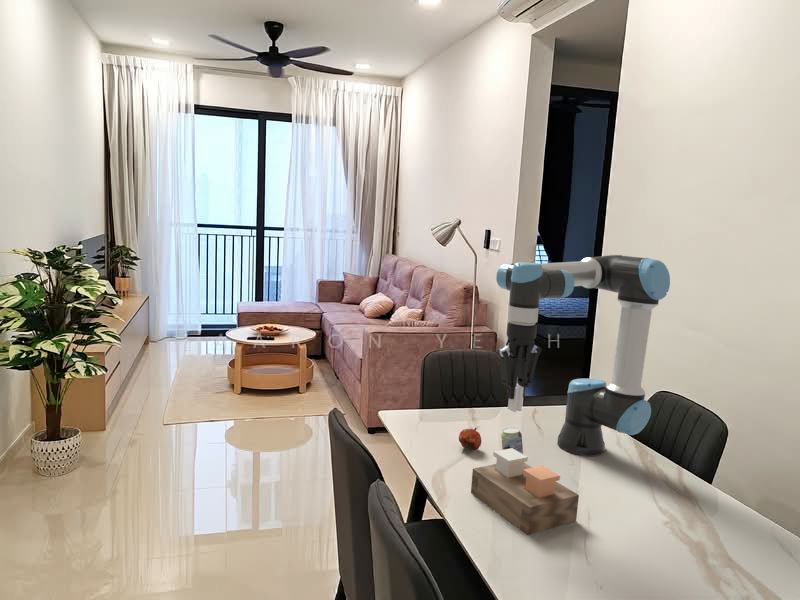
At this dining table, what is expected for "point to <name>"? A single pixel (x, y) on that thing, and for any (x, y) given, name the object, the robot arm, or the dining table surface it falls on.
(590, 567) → the dining table surface
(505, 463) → the white block
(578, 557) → the dining table surface
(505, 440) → the beverage can
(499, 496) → the brown boxy piece
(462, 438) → the red round fruit
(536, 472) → the terracotta key
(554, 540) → the dining table surface
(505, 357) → the robot arm
